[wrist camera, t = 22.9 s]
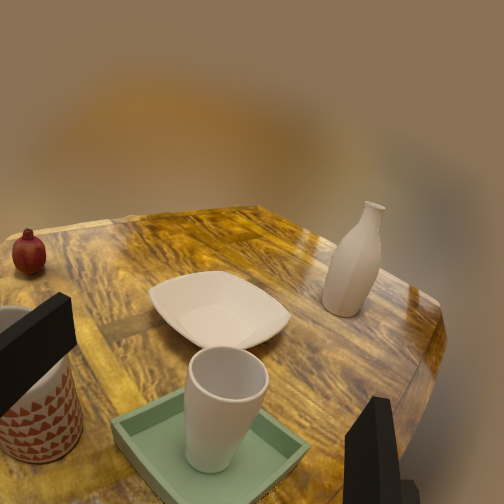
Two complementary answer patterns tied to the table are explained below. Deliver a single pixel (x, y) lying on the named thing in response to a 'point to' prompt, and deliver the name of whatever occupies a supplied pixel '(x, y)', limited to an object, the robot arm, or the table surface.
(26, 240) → the fruit
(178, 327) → the bowl
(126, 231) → the table surface
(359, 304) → the bottle
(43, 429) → the planter
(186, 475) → the bin
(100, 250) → the table surface
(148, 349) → the table surface
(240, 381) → the white cup
